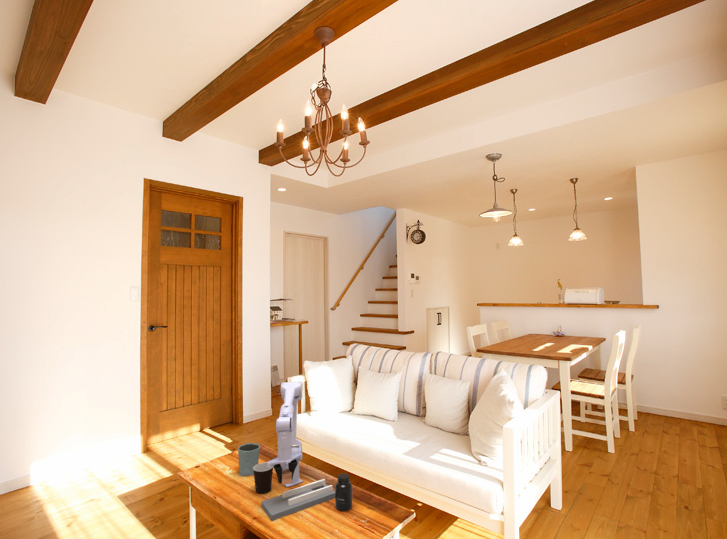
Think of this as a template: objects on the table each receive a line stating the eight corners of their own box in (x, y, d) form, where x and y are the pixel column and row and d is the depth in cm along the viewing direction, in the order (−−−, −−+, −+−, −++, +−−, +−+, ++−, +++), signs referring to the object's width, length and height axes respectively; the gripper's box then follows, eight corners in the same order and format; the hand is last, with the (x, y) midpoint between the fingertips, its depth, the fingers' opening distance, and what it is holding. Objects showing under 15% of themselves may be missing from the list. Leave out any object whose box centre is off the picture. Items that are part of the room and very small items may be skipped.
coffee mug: (268, 496, 160) (267, 472, 160) (249, 494, 161) (249, 470, 162) (279, 482, 171) (279, 460, 172) (262, 481, 173) (261, 459, 173)
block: (278, 481, 154) (278, 471, 154) (288, 478, 156) (288, 468, 157) (282, 485, 151) (282, 475, 151) (291, 482, 153) (291, 472, 153)
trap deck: (261, 506, 152) (261, 501, 152) (322, 485, 167) (322, 481, 168) (271, 521, 142) (271, 515, 142) (336, 497, 158) (336, 492, 158)
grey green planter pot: (236, 470, 185) (236, 445, 185) (258, 465, 189) (257, 441, 190) (239, 479, 175) (239, 452, 176) (261, 474, 180) (261, 448, 180)
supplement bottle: (337, 513, 146) (336, 481, 147) (333, 504, 153) (333, 473, 153) (354, 510, 148) (353, 478, 149) (350, 501, 155) (349, 471, 155)
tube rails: (282, 497, 155) (282, 492, 155) (324, 483, 165) (324, 478, 166) (289, 505, 148) (289, 500, 149) (332, 490, 159) (332, 485, 159)
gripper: (271, 454, 147) (271, 490, 146) (305, 445, 155) (305, 479, 154) (265, 448, 153) (265, 483, 152) (298, 440, 161) (298, 472, 160)
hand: (285, 480), depth 154 cm, fingers closed on block, 4 cm apart
